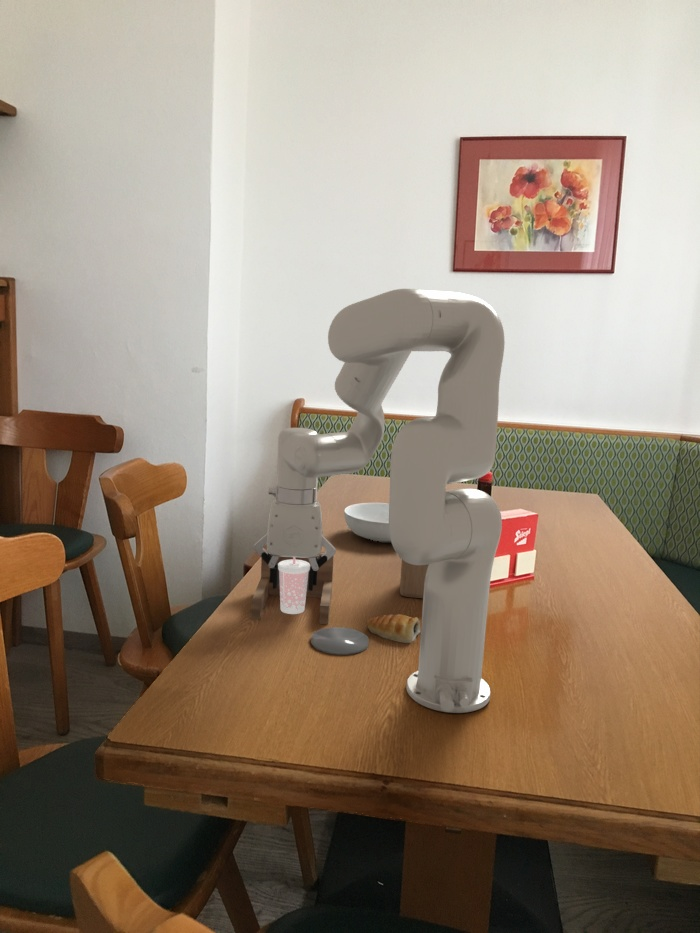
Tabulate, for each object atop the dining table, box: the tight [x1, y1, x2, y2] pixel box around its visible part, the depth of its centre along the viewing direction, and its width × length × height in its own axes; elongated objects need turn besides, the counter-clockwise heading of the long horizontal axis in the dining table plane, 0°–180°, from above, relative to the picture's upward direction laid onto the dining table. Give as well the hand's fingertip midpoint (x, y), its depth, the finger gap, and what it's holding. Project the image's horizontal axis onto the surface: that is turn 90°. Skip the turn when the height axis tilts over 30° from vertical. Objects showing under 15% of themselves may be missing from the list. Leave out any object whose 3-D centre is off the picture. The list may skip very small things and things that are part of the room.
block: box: [399, 559, 429, 599], centre depth 154 cm, size 10×10×20 cm
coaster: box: [310, 626, 370, 656], centre depth 130 cm, size 10×10×1 cm
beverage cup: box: [278, 557, 310, 615], centre depth 142 cm, size 6×6×14 cm
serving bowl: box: [343, 502, 392, 543], centre depth 193 cm, size 21×21×7 cm
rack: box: [250, 548, 335, 625], centre depth 144 cm, size 15×14×9 cm
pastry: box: [366, 613, 421, 644], centre depth 135 cm, size 9×7×4 cm
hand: (293, 586), depth 142 cm, fingers closed on beverage cup, 6 cm apart
